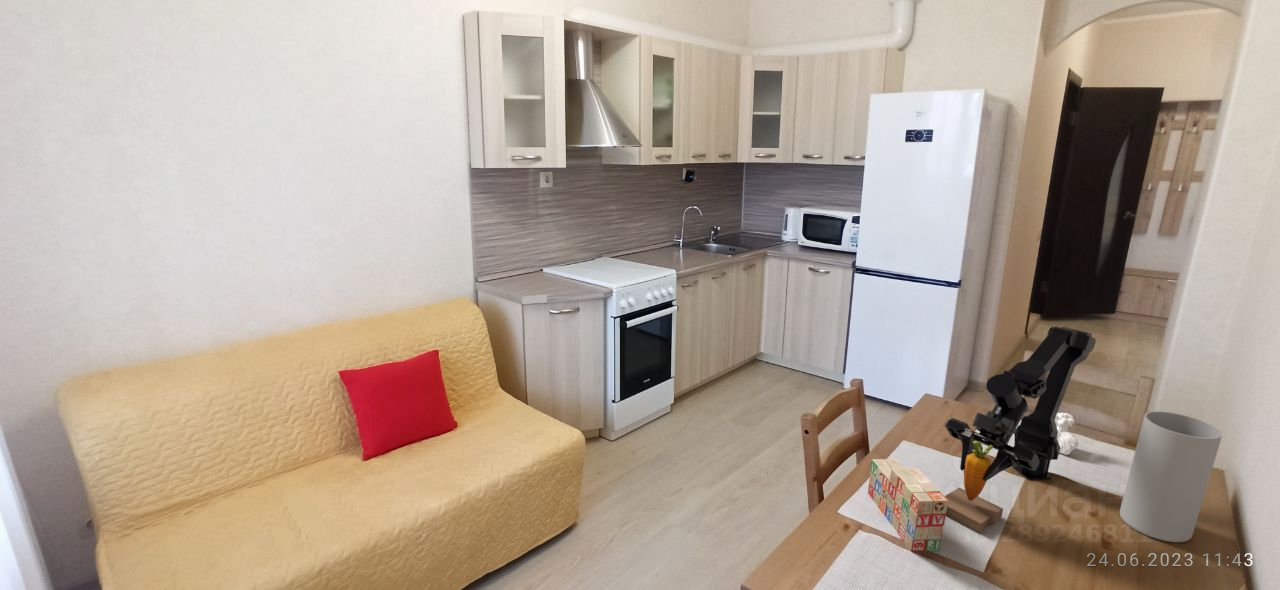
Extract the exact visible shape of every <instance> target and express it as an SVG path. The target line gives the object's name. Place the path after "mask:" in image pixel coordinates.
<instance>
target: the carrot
mask: <svg viewBox="0 0 1280 590" xmlns="http://www.w3.org/2000/svg"><path fill="white" fill-rule="evenodd" d="M973 444H974V447H975V450H973V452H974V453H972V454H969V455H967V457H966V461H965V467H964V470H963V486H964V490H965V492H966V495H967V497H968V499H969V501H972V500H974V499H975V498H976V497H977V496H978V497H979V495H980V494H981V493H982V491H983V489H984V488H985V485H986V484H987V481H984V480H983V478H984V476H985V473H986V472H987V470H988V469H989V467H990V466H991V464H992V463H991V461H990V459H989V458H988V457H987V456H986V455H987V454H989V453H990V451H991V450H992V449H994V448H993V446H992V445H990V446H987V447H985V449H984V448H983V444H982V443H981V442H977V441H974V442H973ZM983 449H984V450H983Z"/></svg>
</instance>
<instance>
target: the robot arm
mask: <svg viewBox="0 0 1280 590" xmlns="http://www.w3.org/2000/svg"><path fill="white" fill-rule="evenodd" d="M1095 346H1096V338H1095V337H1093V334H1092V333H1091V332H1088V331H1084V330H1079V329H1075V328H1071V327H1067V326H1061V327H1060V326H1051V327H1050V328H1049V330H1048V332H1047V335H1046V337H1045V338H1044V339H1043V340H1042V342H1041V343H1040V344H1039V345H1038V346H1037V347H1036V349H1035V350H1034V351H1033V352H1032V354H1031V355H1030V357H1028V358H1027V359H1026V360H1024V361H1020V362H1017V363H1015V364H1014V365H1013V366H1012V367H1011V368H1010V369H1009V370H1004V371H1003V372H1002V373H1001V374H1000V373H999V374H995V375H992V376H991V377H990V378H988V379H987V381H986V390H987V391H988V394H989V396H990V398H991V400H992V402H993V403H994V404H995V405H994V406H993V409H992V410H991V411H990V410H988V412H987V413H986V414H983V413H981V412H976V414H975V417H974V421H973V423H972V426H973V427H976V430H977V431H974V430H972V429H971V428H970V425H969V424H968V423H967V422H964V421H962V420H959V419H956V418H954V417H953V418H950V419H948V420H947V421H946V423H945V424H944V427H945V428H946V430H947V432H948V433H949V435H950V436H951V437H952V438H953V439H956V440H959V441H960V442H961V444H962V445H961V446H962V448H961V449H962V450H961V459H960V466H959V467H960V468H959V469H960V471H963V472H964V467H965V461H966V457H967V455H969V454H972V453H974V452H973V450H975V447H974V444H973V442H974V441H977V442H981V444H982V445H985V446H987V447H988V446H990V445H992V446H993V448H992V449H995V450H997V453H996V456H995V458H994V460H993V461H992V463H991V466H990V467H989V469H988V470H987V472H986V473H985V476H984V478H983V480H984V481H986V482H987V481H989V480H991V478H993V477H994V476H995V477H996V475H998V474H999V473H1001V472H1004V470H1005V471H1006V470H1007V469H1009V468H1013V469H1015V470H1016V471H1017V472H1019V474H1021V475H1022V476H1023V477H1024V478H1026V479H1027V480H1052V478H1053V476H1051V475H1050V474H1049V470H1050V469H1049V468H1050V464H1051V461H1052V460H1053V461H1054V460H1056V461H1057V460H1058V459H1059V454H1061V453H1060V445H1059V443H1058V440H1057V435H1058V430H1057V427H1056V423H1055V418H1056V415H1057V413H1059V409H1060V408H1061V407H1060V406H1061V405H1062V401H1063V399H1064V397H1065V394H1066V391H1067V389H1068V386H1069V383H1070V381H1071V378H1072V376H1073V373H1074V371H1075V369H1076V366H1078V365H1080V364H1081V363H1083V362H1084V361H1086V360H1087V359H1088V356H1089V355H1090V353H1091V352H1092V351H1093V350H1094V348H1095ZM1046 376H1047V377H1046ZM1023 396H1024V397H1028V398H1030V399H1037V398H1038V399H1037V402H1036V405H1035V408H1034V410H1033V412H1032V413H1030V414H1028V415H1025V416H1024V414H1025V413H1027V412H1028V410H1029V409H1028V407H1029V405H1028V402H1027V400H1026V399H1025V398H1024V397H1023ZM1013 435H1014V444H1013V446H1012V445H1010V444H1009V442H1010V440H1011V438H1012V437H1013Z"/></svg>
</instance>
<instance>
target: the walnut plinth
mask: <svg viewBox="0 0 1280 590" xmlns="http://www.w3.org/2000/svg"><path fill="white" fill-rule="evenodd" d="M944 497H945V498H946V499H947V500H948V506H947V511H946V517H947V518H948V519H950V520H952V521H954V522H956V523H958V524H960V525H961V526H964V527H966V528H967V529H969V530H971V531H973V532H975V533H977V534H978V535H979V534H981V533H982V532H984V531H985V530H987V529H988V528H989V527H991V526H992V525H994V524H995V523H996V522H998V521H999V520H1002V517H1003V512H1004V507H1001V506H999V505H997V504H994V503H993V502H991V501H988V500H987V499H984V498H982V497H980V496H979V495H978V496H977V497H976V498H975V499H974V500H972V501H969V499H968V497H967V495H966V492H965V488H964V489H963V488H961V487H958V488H956V489H954V490H953V491H950V492H949V493H947V494H946V495H944ZM946 517H945V518H946Z"/></svg>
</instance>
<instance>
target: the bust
mask: <svg viewBox="0 0 1280 590" xmlns="http://www.w3.org/2000/svg"><path fill="white" fill-rule="evenodd" d="M1055 423H1056V427H1057V430H1058V435H1057V440H1058V443H1059V445H1060V453H1059V454H1063V455H1065V456H1067V455H1071V453H1072V452H1073V451H1074V450H1075V449H1076V448H1078V446H1079V441H1078V438H1077V437H1076V435H1075V434H1074V433H1072V432H1070V431H1069V427H1071V428H1072V427H1073V425H1074V424H1075V423H1076V421H1075V419H1074V416H1073V415H1072V414H1070V413H1067V412H1057V415H1056V418H1055Z"/></svg>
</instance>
